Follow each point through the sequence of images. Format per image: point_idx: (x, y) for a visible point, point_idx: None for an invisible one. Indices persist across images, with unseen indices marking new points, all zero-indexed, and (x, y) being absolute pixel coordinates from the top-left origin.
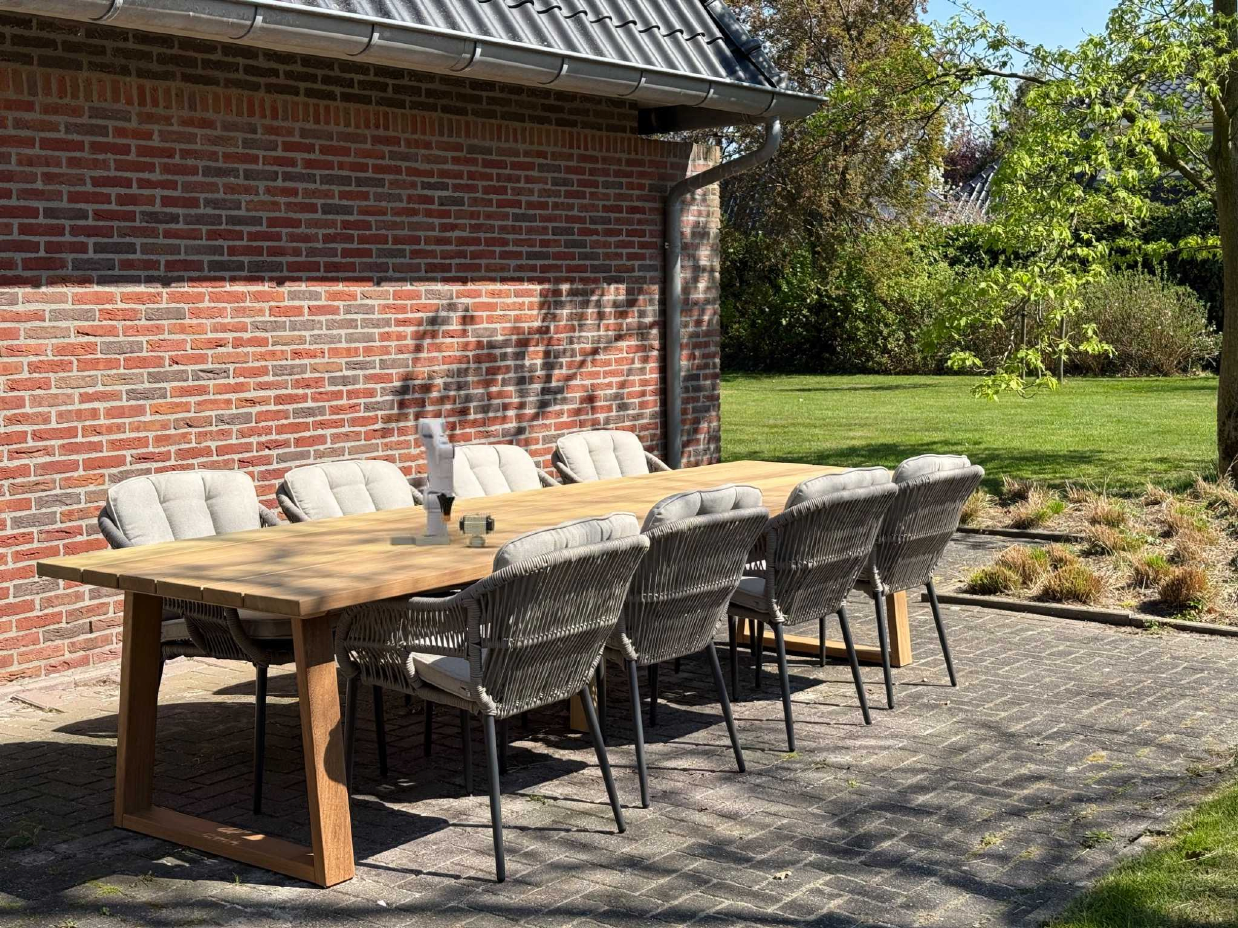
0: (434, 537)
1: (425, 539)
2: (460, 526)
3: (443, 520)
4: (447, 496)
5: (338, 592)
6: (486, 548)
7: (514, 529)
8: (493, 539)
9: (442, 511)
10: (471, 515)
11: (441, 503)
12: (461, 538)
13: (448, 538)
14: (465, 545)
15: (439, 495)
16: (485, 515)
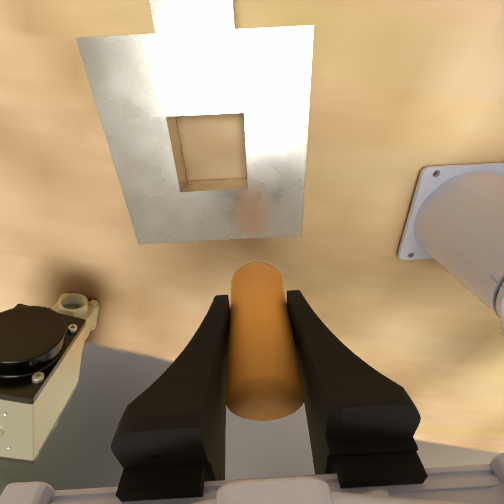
0: (134, 171)
1: (102, 112)
2: None
3: (241, 270)
4: (7, 493)
5: None
6: None
7: (426, 412)
8: None
9: (255, 307)
10: (2, 414)
11: (307, 355)
12: (308, 286)
13: (139, 236)
14: (111, 278)
15: (368, 429)
16: (15, 452)
